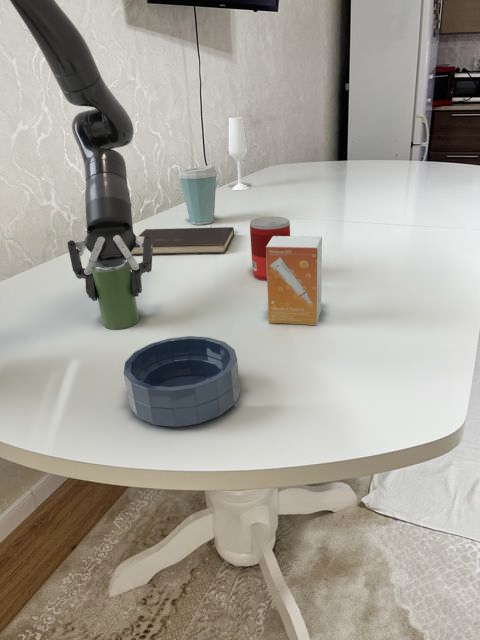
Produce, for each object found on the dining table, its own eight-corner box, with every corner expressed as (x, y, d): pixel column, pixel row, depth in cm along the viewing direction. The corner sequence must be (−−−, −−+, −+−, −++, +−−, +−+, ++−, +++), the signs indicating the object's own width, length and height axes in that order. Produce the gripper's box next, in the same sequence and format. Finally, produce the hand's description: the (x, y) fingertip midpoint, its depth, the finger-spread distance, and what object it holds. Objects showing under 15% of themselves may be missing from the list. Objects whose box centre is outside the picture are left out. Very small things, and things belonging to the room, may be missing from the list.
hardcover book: (224, 253, 121) (224, 244, 120) (128, 255, 123) (126, 246, 122) (234, 235, 135) (233, 226, 134) (147, 237, 137) (146, 228, 136)
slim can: (101, 331, 86) (88, 270, 81) (105, 317, 91) (93, 258, 86) (138, 327, 87) (127, 266, 82) (139, 313, 92) (130, 255, 87)
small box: (268, 324, 85) (264, 246, 79) (275, 308, 91) (272, 234, 85) (317, 326, 84) (317, 246, 78) (322, 310, 89) (322, 235, 83)
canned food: (279, 283, 102) (277, 227, 97) (245, 278, 106) (241, 223, 101) (298, 271, 108) (297, 218, 103) (264, 266, 111) (262, 214, 106)
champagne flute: (240, 190, 188) (235, 118, 177) (227, 189, 193) (222, 118, 182) (253, 187, 193) (249, 116, 182) (240, 186, 197) (235, 116, 186)
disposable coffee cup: (181, 227, 144) (175, 171, 138) (185, 218, 154) (179, 165, 147) (220, 225, 145) (215, 169, 138) (221, 216, 154) (217, 163, 147)
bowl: (128, 437, 60) (119, 397, 57) (134, 378, 72) (127, 342, 69) (246, 421, 61) (243, 381, 59) (232, 366, 73) (229, 331, 71)
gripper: (59, 198, 86) (62, 292, 81) (148, 191, 87) (157, 282, 82) (71, 223, 93) (75, 310, 88) (153, 216, 94) (162, 301, 90)
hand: (115, 296), depth 85 cm, fingers closed on slim can, 6 cm apart
